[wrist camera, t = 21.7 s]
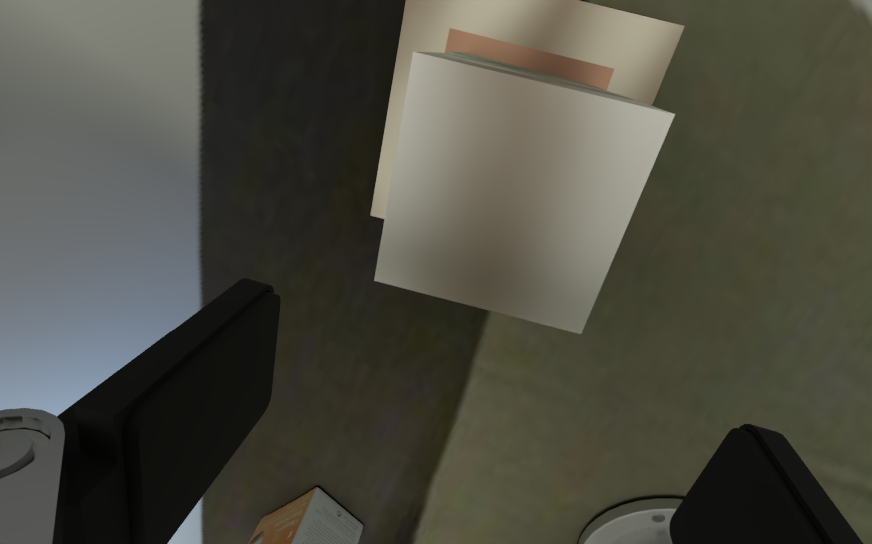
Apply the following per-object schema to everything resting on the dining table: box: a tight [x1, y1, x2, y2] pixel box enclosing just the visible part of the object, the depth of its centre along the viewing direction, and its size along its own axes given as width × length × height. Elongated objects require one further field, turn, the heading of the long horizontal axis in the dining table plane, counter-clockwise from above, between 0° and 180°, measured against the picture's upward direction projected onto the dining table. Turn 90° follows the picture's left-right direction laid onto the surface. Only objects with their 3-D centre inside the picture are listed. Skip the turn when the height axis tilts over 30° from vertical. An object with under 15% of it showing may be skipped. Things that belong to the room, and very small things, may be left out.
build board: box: [371, 0, 685, 219], centre depth 23 cm, size 12×12×1 cm
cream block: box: [374, 52, 675, 334], centre depth 14 cm, size 6×6×6 cm
